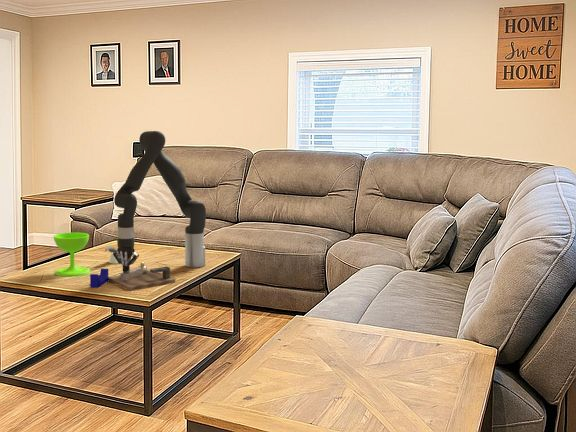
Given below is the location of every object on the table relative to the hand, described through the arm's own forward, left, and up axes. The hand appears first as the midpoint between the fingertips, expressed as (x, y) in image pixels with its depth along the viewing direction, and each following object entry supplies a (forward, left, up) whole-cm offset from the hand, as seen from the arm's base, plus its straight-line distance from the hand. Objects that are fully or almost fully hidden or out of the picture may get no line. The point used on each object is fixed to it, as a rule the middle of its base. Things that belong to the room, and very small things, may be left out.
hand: (126, 273), depth 289 cm
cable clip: (+13, -1, -4) cm, 14 cm away
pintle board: (-4, +7, -3) cm, 8 cm away
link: (-3, +2, -1) cm, 4 cm away
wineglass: (+14, -27, -3) cm, 31 cm away
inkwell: (-10, -32, -3) cm, 34 cm away
